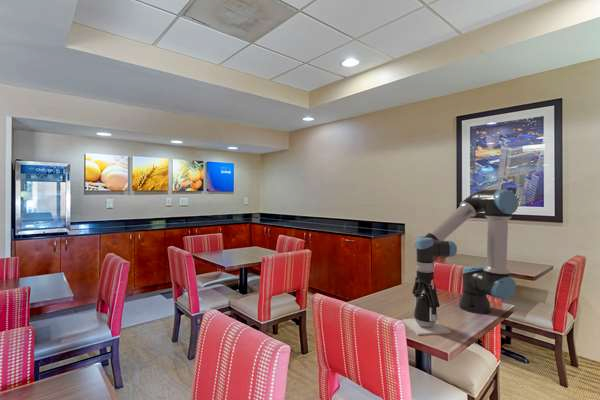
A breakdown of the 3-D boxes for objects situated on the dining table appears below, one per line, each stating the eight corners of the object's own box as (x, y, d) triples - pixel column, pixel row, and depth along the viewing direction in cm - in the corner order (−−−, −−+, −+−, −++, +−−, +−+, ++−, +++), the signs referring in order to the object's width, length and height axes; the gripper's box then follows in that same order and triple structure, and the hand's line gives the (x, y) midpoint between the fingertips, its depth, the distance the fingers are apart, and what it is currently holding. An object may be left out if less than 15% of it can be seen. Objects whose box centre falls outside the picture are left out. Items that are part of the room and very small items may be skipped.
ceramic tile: (431, 319, 160) (431, 317, 160) (450, 332, 144) (450, 331, 144) (401, 321, 158) (401, 319, 158) (417, 335, 142) (417, 333, 142)
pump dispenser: (410, 326, 150) (410, 294, 150) (418, 319, 158) (418, 288, 158) (433, 331, 143) (433, 298, 143) (439, 324, 151) (439, 292, 151)
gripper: (405, 265, 162) (405, 306, 163) (432, 278, 137) (432, 326, 138) (419, 264, 163) (419, 305, 164) (448, 277, 138) (448, 325, 139)
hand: (425, 315), depth 151 cm, fingers open, 13 cm apart
